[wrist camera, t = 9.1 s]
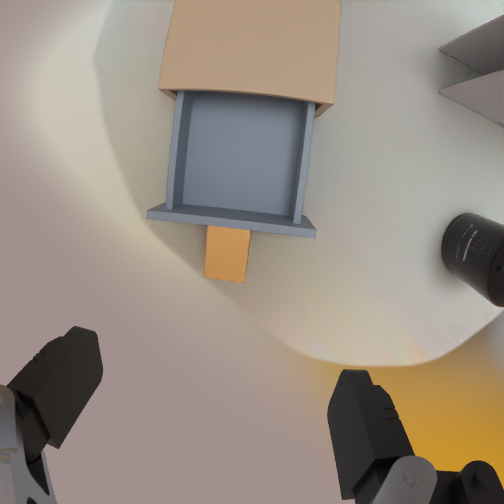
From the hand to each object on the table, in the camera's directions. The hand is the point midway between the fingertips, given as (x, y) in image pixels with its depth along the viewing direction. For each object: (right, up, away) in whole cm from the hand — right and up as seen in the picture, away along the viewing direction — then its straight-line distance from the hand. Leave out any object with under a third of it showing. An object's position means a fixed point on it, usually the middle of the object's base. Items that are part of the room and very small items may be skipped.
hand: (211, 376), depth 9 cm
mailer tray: (+1, +13, +15) cm, 20 cm away
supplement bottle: (+24, +5, +17) cm, 30 cm away
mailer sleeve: (+2, +24, +12) cm, 27 cm away
